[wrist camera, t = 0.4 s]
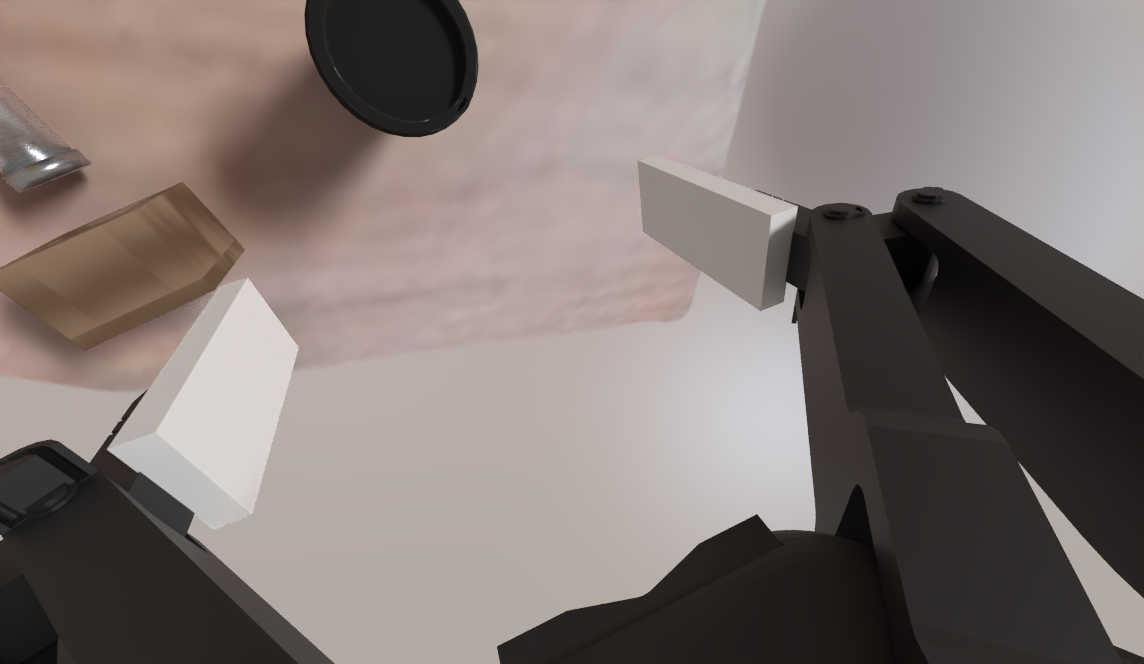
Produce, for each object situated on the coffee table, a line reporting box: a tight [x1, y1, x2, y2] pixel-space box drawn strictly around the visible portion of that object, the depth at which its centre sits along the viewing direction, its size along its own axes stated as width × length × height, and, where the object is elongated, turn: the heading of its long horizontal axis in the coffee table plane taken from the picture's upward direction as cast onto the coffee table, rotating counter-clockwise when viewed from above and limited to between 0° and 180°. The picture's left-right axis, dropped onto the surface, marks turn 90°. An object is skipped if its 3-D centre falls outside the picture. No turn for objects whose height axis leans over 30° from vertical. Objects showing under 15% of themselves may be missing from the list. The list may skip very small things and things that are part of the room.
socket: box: [0, 182, 245, 350], centre depth 30 cm, size 6×9×8 cm, turn 109°
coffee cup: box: [305, 0, 478, 137], centre depth 27 cm, size 8×8×15 cm
